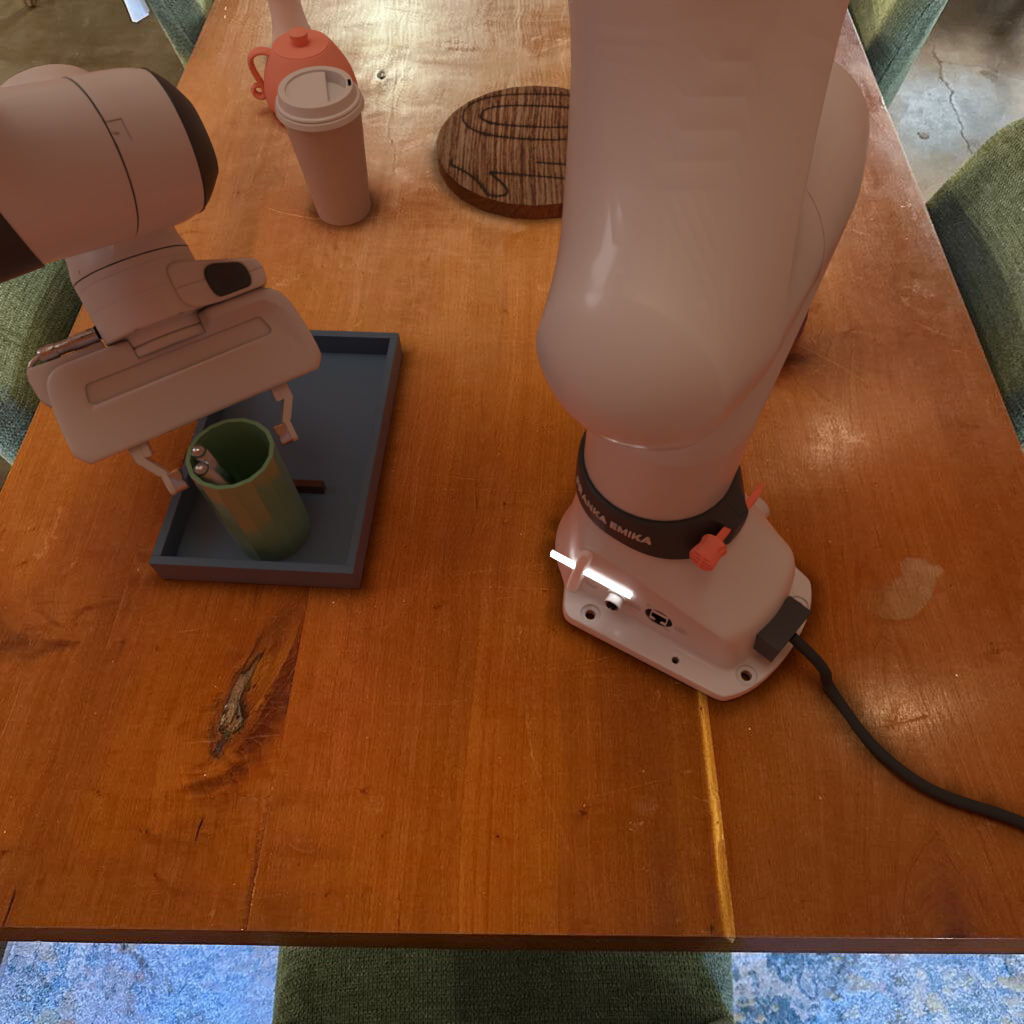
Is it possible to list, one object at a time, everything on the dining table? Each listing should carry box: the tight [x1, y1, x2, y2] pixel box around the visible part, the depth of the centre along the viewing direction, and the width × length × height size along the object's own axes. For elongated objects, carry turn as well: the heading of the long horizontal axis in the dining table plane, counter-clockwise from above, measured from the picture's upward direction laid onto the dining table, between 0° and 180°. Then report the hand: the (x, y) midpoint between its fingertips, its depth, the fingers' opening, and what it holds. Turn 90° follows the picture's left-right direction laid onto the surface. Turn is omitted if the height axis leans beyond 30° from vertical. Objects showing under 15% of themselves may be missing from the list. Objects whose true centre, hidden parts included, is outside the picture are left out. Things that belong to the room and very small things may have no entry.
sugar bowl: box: [246, 27, 359, 114], centre depth 100 cm, size 12×14×10 cm
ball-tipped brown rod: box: [194, 462, 232, 486], centre depth 63 cm, size 1×1×12 cm
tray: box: [148, 329, 404, 590], centre depth 73 cm, size 28×18×3 cm, turn 176°
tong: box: [191, 444, 238, 484], centre depth 64 cm, size 1×1×12 cm
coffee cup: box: [274, 66, 372, 227], centre depth 87 cm, size 10×10×15 cm
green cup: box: [185, 418, 311, 562], centre depth 64 cm, size 7×7×12 cm
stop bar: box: [292, 479, 326, 494], centre depth 71 cm, size 1×8×1 cm, turn 86°
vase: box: [266, 0, 312, 49], centre depth 107 cm, size 8×8×10 cm
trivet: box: [435, 85, 570, 220], centre depth 97 cm, size 25×25×2 cm
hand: (236, 466), depth 63 cm, fingers open, 8 cm apart
